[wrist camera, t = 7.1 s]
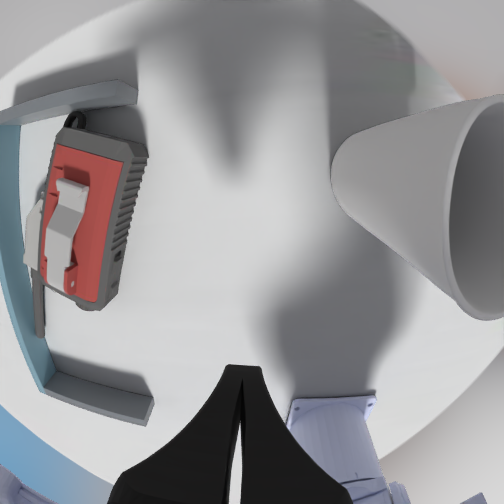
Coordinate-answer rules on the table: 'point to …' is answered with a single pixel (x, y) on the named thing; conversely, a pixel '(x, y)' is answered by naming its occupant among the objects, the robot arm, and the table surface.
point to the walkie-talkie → (83, 217)
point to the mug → (435, 196)
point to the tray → (15, 271)
